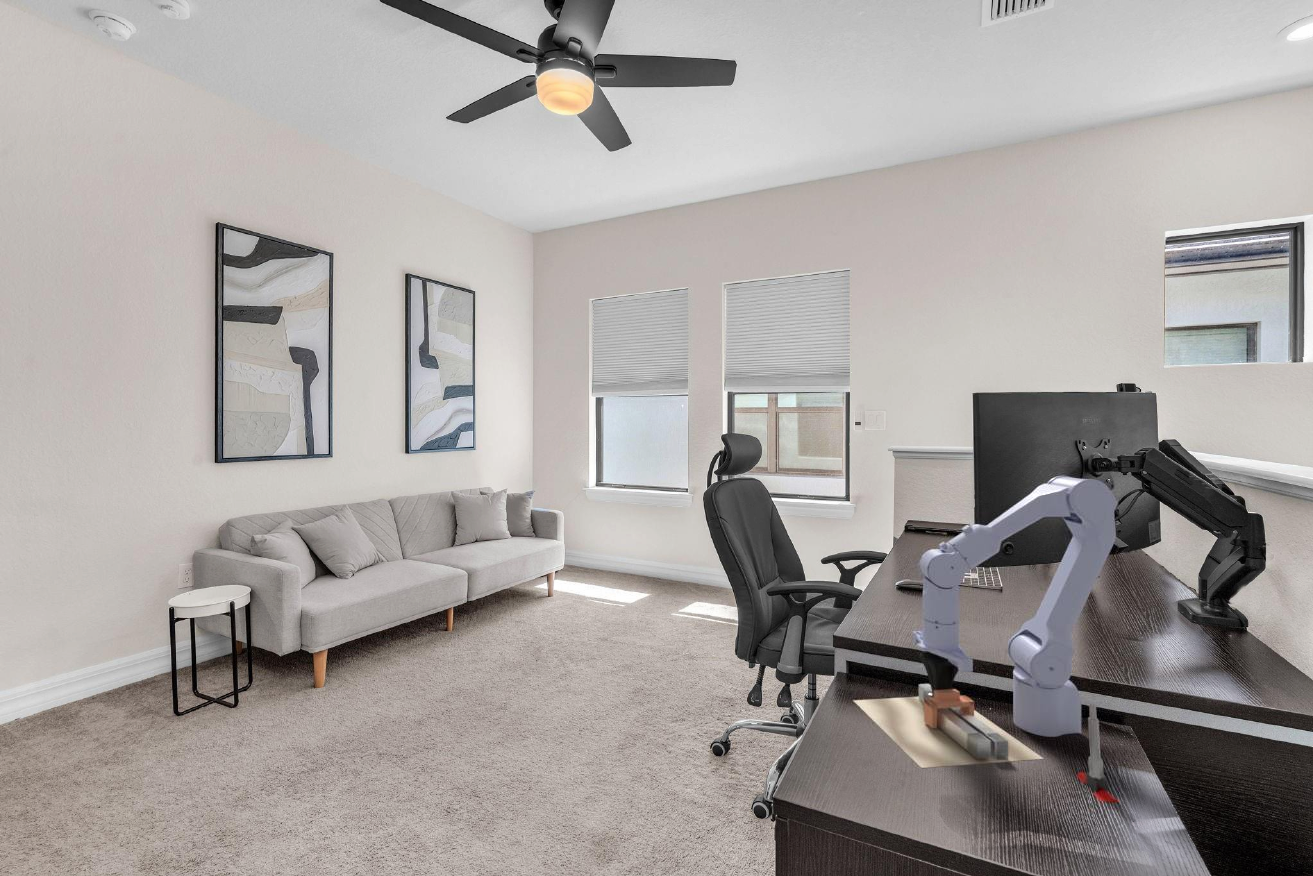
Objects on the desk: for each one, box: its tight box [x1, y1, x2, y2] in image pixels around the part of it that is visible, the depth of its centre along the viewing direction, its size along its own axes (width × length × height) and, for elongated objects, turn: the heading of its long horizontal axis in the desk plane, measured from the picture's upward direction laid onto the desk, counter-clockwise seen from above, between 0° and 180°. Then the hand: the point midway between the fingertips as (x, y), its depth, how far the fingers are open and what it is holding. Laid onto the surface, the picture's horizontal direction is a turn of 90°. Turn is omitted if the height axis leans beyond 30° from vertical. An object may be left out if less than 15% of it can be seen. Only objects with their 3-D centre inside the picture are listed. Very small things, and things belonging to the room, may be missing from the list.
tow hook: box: [1075, 702, 1119, 803], centre depth 83 cm, size 8×13×9 cm
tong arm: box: [937, 708, 991, 759], centre depth 96 cm, size 2×14×3 cm, turn 6°
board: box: [852, 696, 1044, 769], centre depth 100 cm, size 20×22×1 cm
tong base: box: [918, 683, 1008, 760], centre depth 100 cm, size 4×21×3 cm, turn 7°
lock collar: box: [924, 688, 975, 728], centre depth 100 cm, size 8×2×5 cm, turn 97°
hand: (940, 697), depth 103 cm, fingers closed
